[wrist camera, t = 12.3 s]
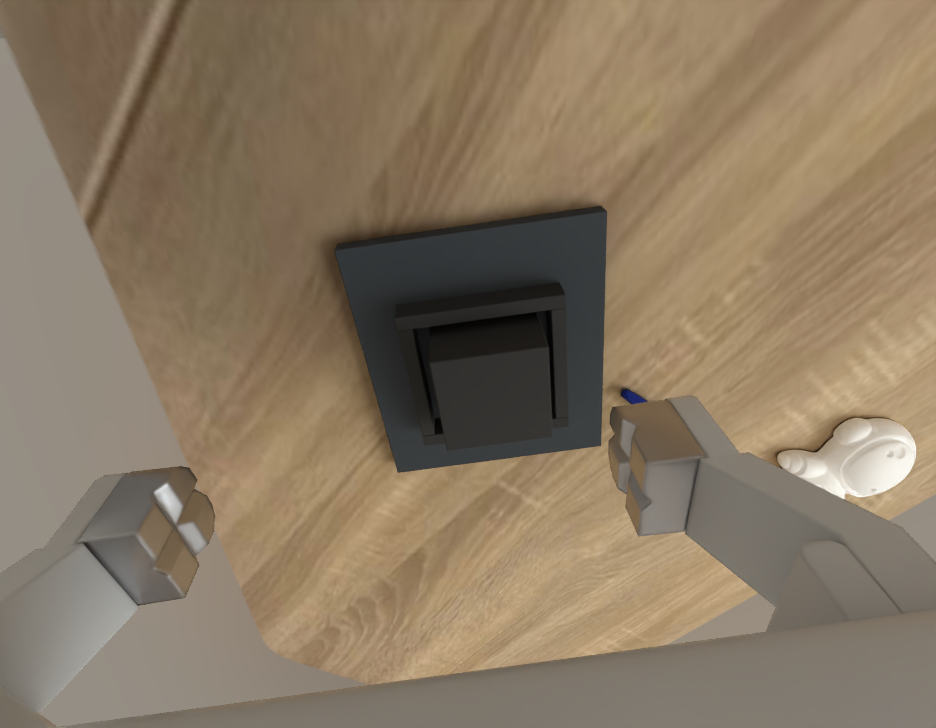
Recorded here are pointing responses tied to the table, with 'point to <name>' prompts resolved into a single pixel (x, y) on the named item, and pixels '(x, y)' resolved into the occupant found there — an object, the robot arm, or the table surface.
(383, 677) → the table surface
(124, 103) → the table surface
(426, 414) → the socket base plate
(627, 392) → the ballpoint pen
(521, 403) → the black box
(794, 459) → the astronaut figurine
